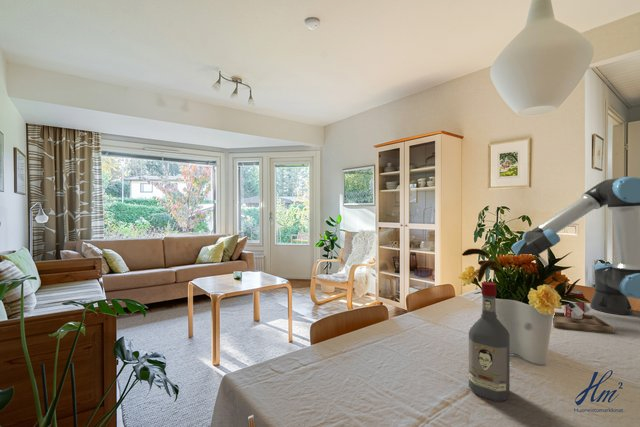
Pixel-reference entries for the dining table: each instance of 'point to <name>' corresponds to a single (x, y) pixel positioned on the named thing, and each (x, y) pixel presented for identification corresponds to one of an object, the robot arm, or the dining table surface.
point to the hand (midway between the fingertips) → (584, 312)
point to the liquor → (489, 350)
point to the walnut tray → (581, 323)
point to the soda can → (569, 312)
